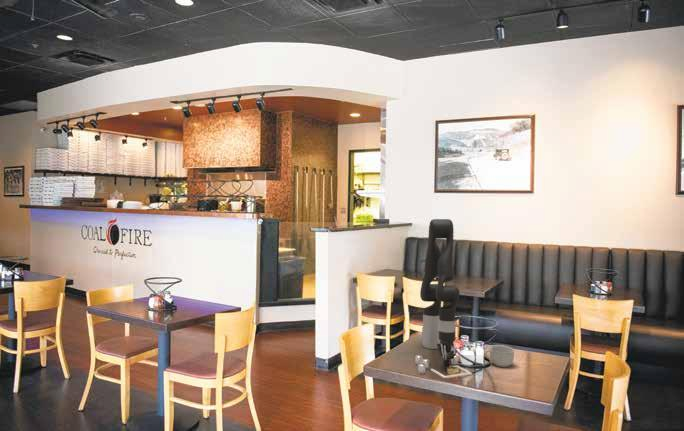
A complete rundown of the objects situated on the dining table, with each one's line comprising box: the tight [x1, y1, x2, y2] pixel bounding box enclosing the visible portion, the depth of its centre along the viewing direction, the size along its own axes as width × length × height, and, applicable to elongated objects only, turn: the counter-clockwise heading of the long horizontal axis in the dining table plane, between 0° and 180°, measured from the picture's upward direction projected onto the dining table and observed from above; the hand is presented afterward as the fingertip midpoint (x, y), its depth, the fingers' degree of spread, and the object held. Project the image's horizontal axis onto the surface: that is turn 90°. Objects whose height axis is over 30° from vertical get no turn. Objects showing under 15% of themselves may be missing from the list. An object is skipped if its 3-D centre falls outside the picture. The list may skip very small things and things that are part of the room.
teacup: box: [483, 344, 515, 368], centre depth 228 cm, size 14×11×8 cm
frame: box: [429, 364, 473, 380], centre depth 217 cm, size 11×14×1 cm
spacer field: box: [414, 354, 458, 376], centre depth 225 cm, size 14×28×4 cm, turn 112°
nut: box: [446, 365, 460, 375], centre depth 217 cm, size 6×5×3 cm
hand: (446, 367), depth 221 cm, fingers closed
